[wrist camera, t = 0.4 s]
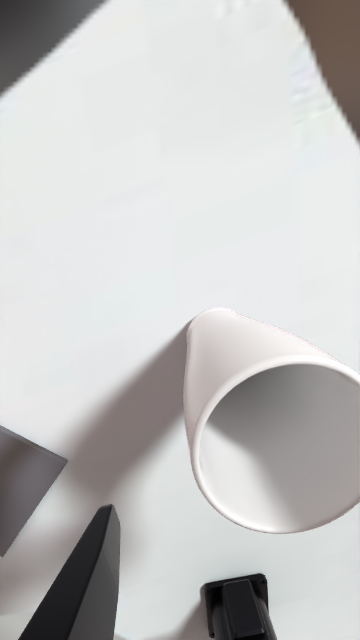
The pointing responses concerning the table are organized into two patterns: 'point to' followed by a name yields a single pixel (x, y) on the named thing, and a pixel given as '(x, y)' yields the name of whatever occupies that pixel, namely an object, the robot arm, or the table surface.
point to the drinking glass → (270, 424)
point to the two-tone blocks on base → (22, 482)
